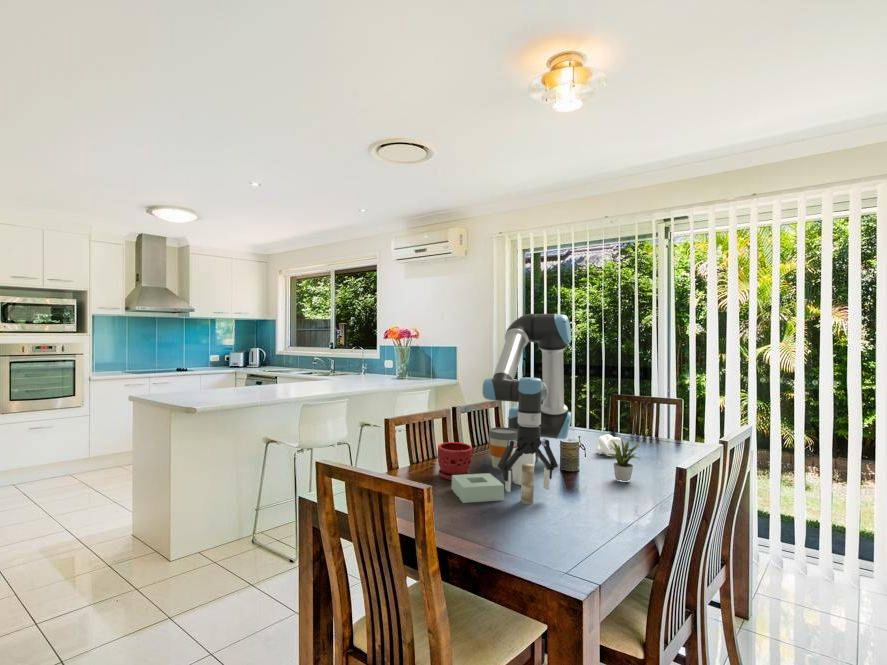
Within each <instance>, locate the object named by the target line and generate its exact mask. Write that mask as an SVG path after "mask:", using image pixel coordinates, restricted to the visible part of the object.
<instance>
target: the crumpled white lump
mask: <svg viewBox="0 0 887 665" xmlns="http://www.w3.org/2000/svg"><path fill="white" fill-rule="evenodd" d="M621 439H622V438H620V437H616V436H615V437H614V436H613V435H611V434H609V433H608V434H607V433H606V434H604V435H601V436H599V437H598V441H597V443H596V448H595V450H596V453H597V454H598V453H601V454H604V455H606V456H607V457H608V456H612V455H607V454H615V455H616V452H615V450H614V449H615V447H614V444H613V442H612V441H614V443H615V444H616V445H617V446H619V447H620V450H621V451H622V444H620V443H622V442H621ZM611 440H612V441H611ZM608 443H609V444H610V445H609V444H608ZM611 445H612V446H613V448H614V449H613V448H612V447H611Z"/></svg>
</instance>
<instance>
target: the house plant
mask: <svg viewBox="0 0 887 665" xmlns="http://www.w3.org/2000/svg"><path fill="white" fill-rule="evenodd" d="M620 439H621V442H622V443H620V444H622V450H620V447H619V446H617V445H616V444H615V443H614V441H612V440H611V441H612V442H613V444H614V447H615V449H614V448H613V446H612V445H611V447H612V448H613V449H614V450H615V452H616V455H615V454H607V455H612V456H614V457H613V458H615V460H616V462H614V463H613V471H614V478H616V479H617V480H622V481H628V480H630V479H631V478H632V474H633V470H634V465H633V464H632V463H630V460H631V459H633V460H632V461H634V459H638V460H640V458H642V457H640V456H639V457H638V456H636V455H637V454H638V452H634V451H635V450H638V448H639V447H641V446H642V443H639V444H636V445H634V446H633V447H632V448H630V449H629V447H630V440H629V439H627V440H626V442H625V444H624V442H623V439H622V438H620ZM608 444H609V443H608ZM609 445H610V444H609ZM633 452H634V453H633ZM607 455H606V456H607ZM632 461H631V462H632ZM616 479H615V480H616ZM631 480H632V479H631ZM631 480H630V481H631Z"/></svg>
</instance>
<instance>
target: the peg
mask: <svg viewBox="0 0 887 665" xmlns="http://www.w3.org/2000/svg"><path fill="white" fill-rule="evenodd" d="M534 481H535V465H532V464H522V478H521V485H520V487H521V488H520V503H521V502H522V504H524V505H532V504H533V503H534V490H535V489H534V486H535V483H534Z"/></svg>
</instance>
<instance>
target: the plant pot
mask: <svg viewBox="0 0 887 665" xmlns="http://www.w3.org/2000/svg"><path fill="white" fill-rule="evenodd" d="M472 459H473V447H472V446H471V445H470V444H468V443H465V442H464V443H463V442H459V441H458V442H455V441H448V442H442V443H439V444H438V446H437V462H438V465H439V468H440V469H439V470H438V475H439V476H440V477H441V478H443V479H446V480H449V481H452V475H464V474H470V472H469V469H470V467H471V463H472Z"/></svg>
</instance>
